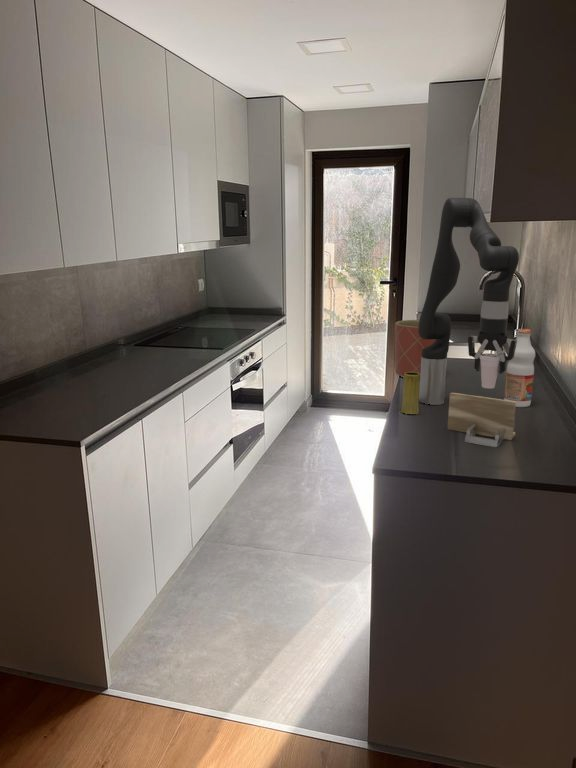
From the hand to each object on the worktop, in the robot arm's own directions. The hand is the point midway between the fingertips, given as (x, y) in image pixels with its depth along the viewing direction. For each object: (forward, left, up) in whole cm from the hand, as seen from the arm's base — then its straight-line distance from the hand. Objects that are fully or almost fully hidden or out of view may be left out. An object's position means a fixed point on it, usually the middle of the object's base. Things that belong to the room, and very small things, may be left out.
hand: (489, 371), depth 177 cm
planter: (-72, -47, -22) cm, 88 cm away
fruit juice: (-46, 0, -22) cm, 51 cm away
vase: (-15, -30, -22) cm, 40 cm away
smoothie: (0, 0, -5) cm, 5 cm away
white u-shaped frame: (0, 0, -22) cm, 21 cm away
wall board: (-7, -3, -22) cm, 23 cm away
